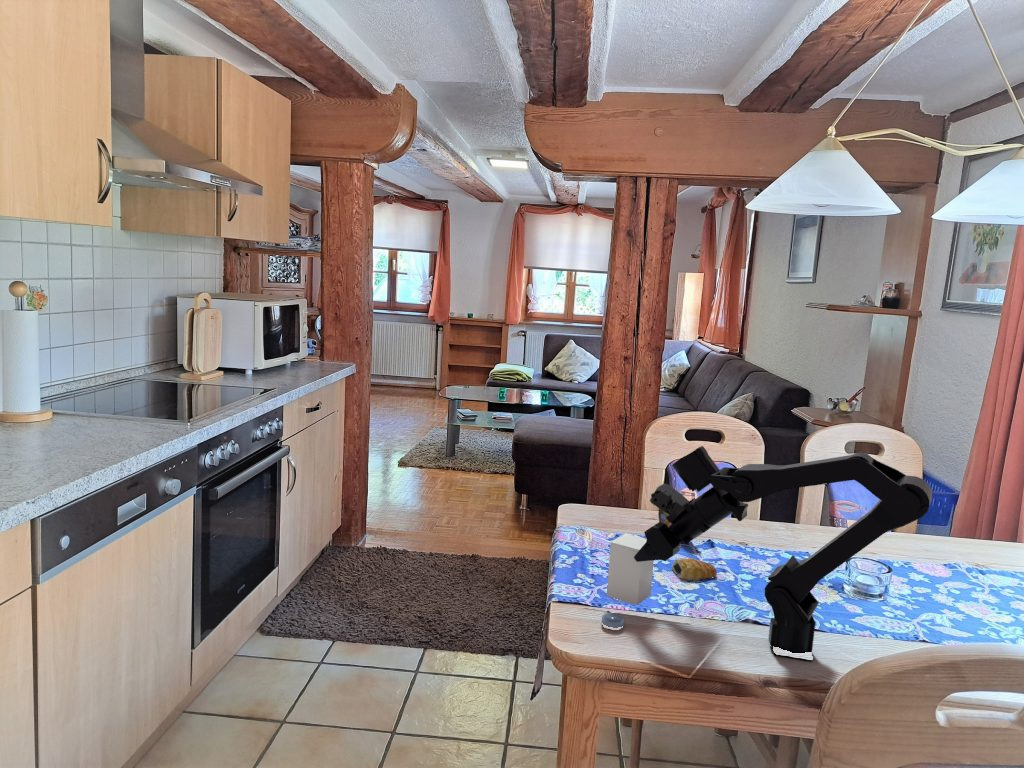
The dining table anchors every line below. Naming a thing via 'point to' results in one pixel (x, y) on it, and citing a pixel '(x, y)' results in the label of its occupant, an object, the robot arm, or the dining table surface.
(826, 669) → the dining table surface
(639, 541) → the tall white rectangular prism
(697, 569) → the pastry
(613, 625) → the dark grey round puck
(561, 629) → the dining table surface
